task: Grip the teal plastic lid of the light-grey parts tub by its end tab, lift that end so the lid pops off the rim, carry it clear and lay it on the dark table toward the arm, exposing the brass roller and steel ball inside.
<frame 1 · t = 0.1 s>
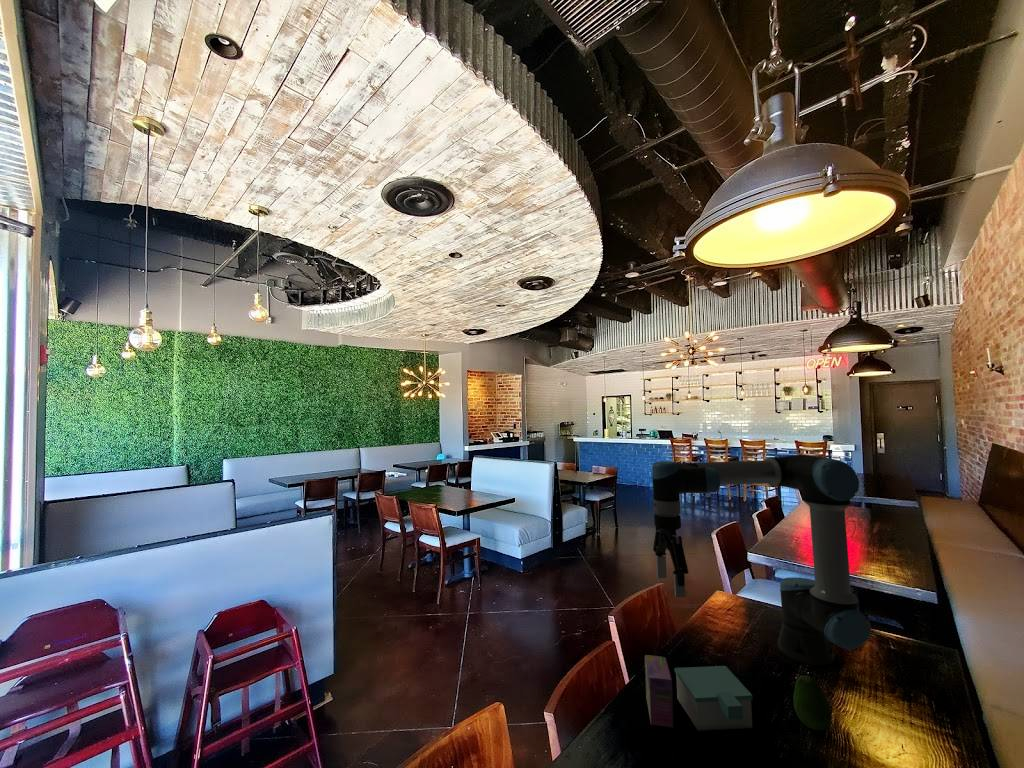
hand: (670, 586, 125), 28 cm above the table, fingers open, 13 cm apart
tub: (713, 712, 112), on the table
lid: (711, 684, 112), point 7 cm above the table, touching tub
avocado: (813, 728, 105), on the table
box: (659, 713, 112), on the table
brass roller: (720, 706, 114), resting on tub
steel ball: (705, 718, 109), resting on tub
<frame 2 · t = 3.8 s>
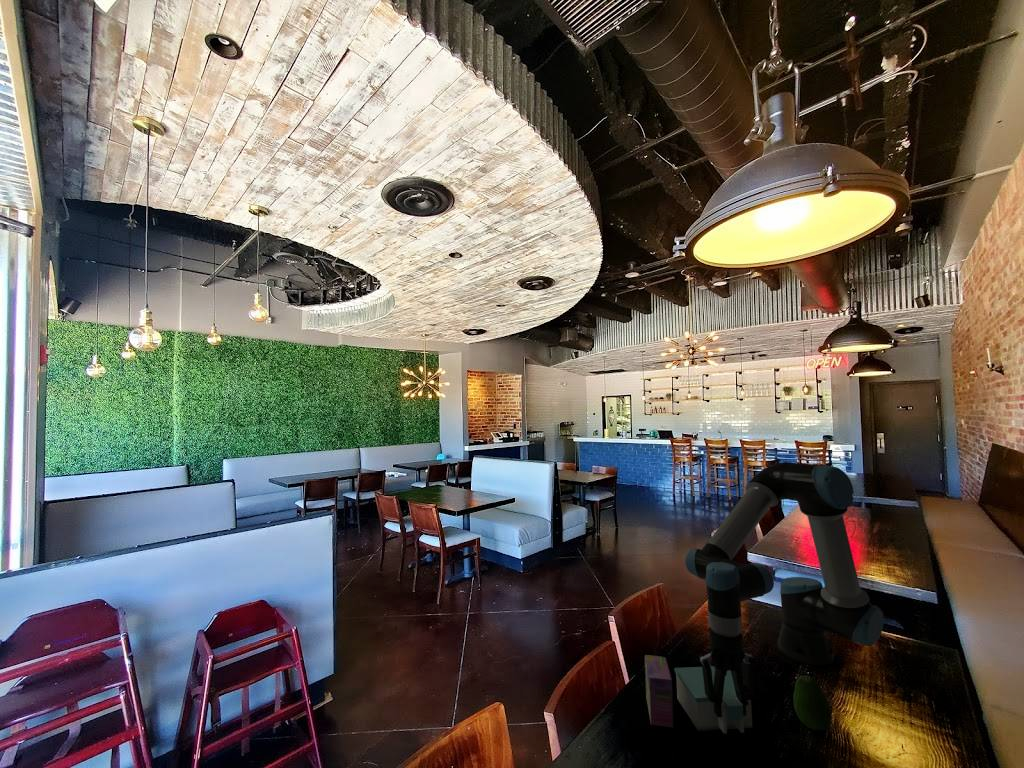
hand: (731, 728, 103), 2 cm above the table, fingers closed on lid, 3 cm apart
lid: (711, 684, 112), point 7 cm above the table, touching gripper, tub
brass roller: (720, 704, 113), point 1 cm above the table, tilted 51°, touching tub
everything else where it was.
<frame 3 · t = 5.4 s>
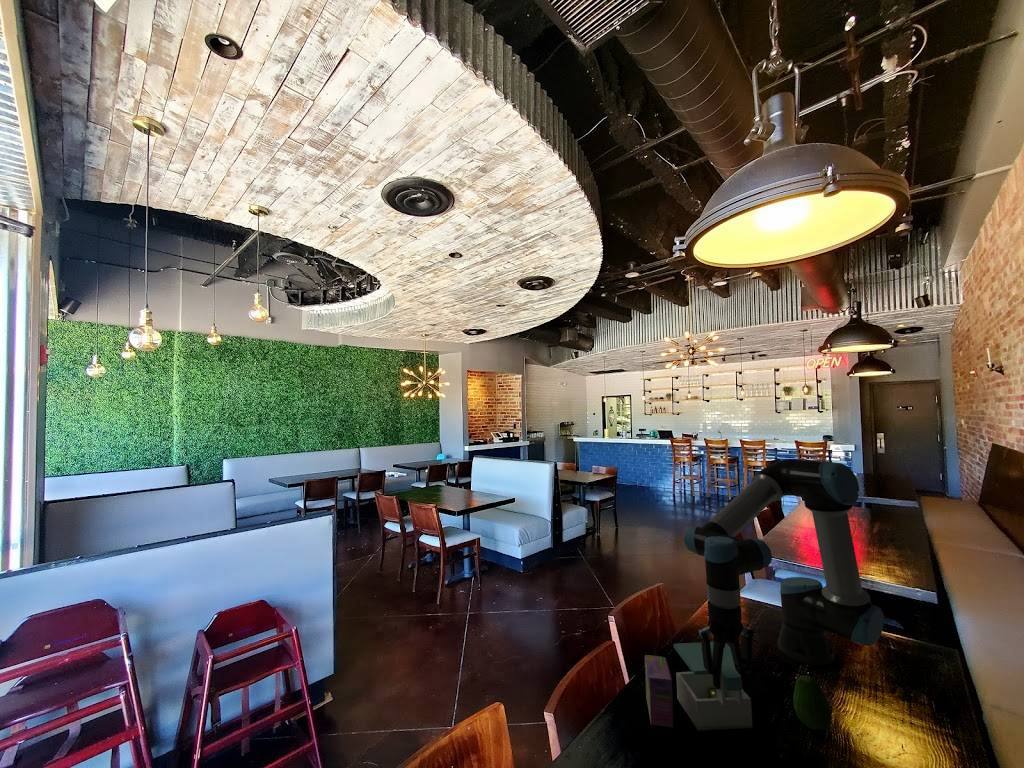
hand: (729, 700, 103), 9 cm above the table, fingers closed on lid, 3 cm apart
lid: (710, 659, 113), point 14 cm above the table, touching gripper
brass roller: (720, 706, 113), resting on tub, tilted 27°
everything else where it was.
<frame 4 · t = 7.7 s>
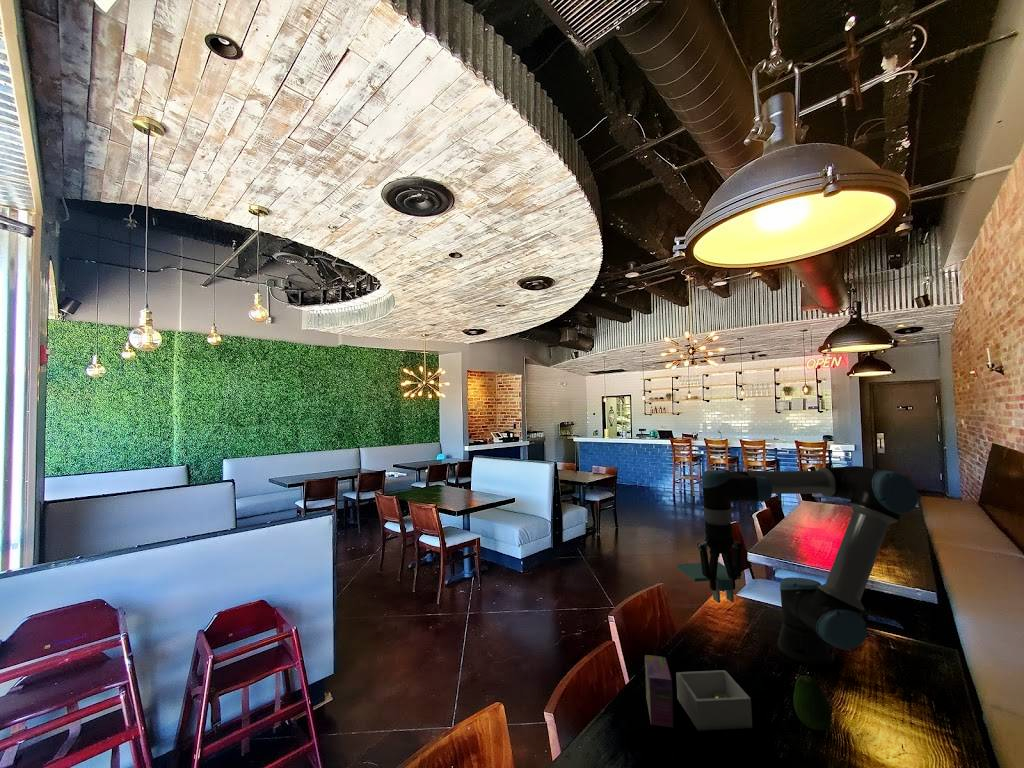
hand: (723, 600, 128), 22 cm above the table, fingers closed on lid, 3 cm apart
lid: (707, 572, 137), point 27 cm above the table, touching gripper
brass roller: (719, 702, 114), point 1 cm above the table, tilted 48°, touching tub
everything else where it was.
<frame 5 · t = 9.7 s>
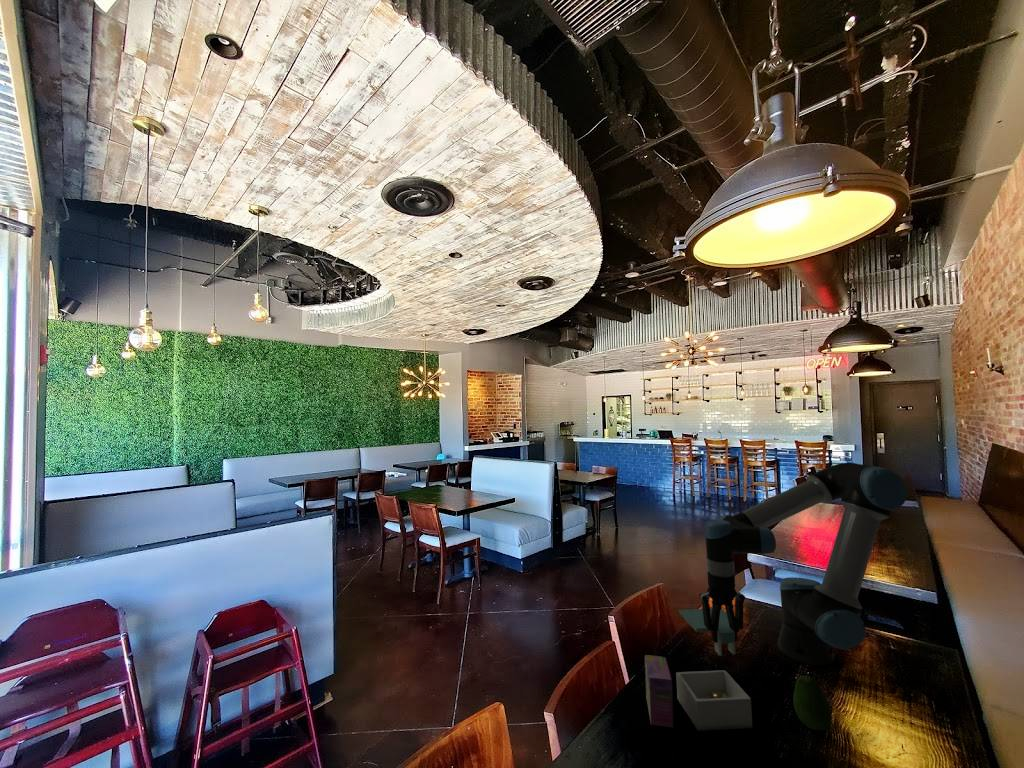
hand: (725, 652, 127), 7 cm above the table, fingers closed on lid, 3 cm apart
lid: (709, 621, 137), point 12 cm above the table, touching gripper
brass roller: (719, 706, 114), resting on tub, tilted 12°
everything else where it was.
when the fingers open (2 cm above the table, at t = 11.4 s): lid drops 6 cm, point 1 cm above the table.
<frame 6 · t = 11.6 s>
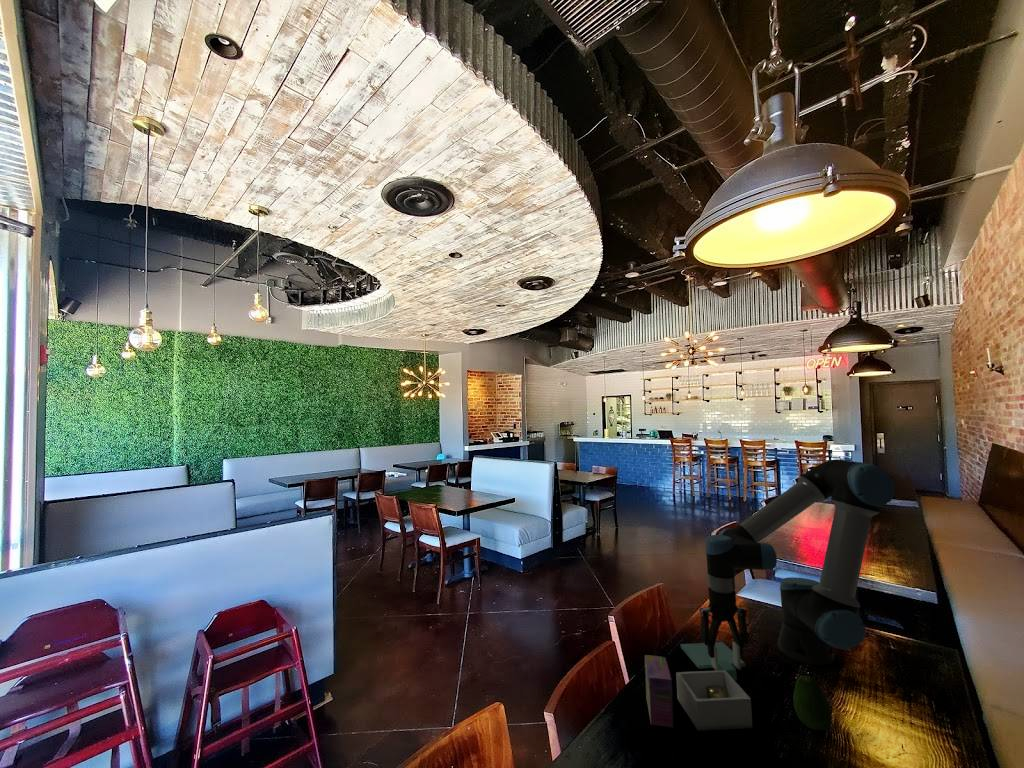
hand: (726, 667, 127), 2 cm above the table, fingers open, 6 cm apart
lid: (711, 656, 136), point 1 cm above the table
brass roller: (720, 703, 113), point 1 cm above the table, tilted 61°, touching tub
everything else where it was.
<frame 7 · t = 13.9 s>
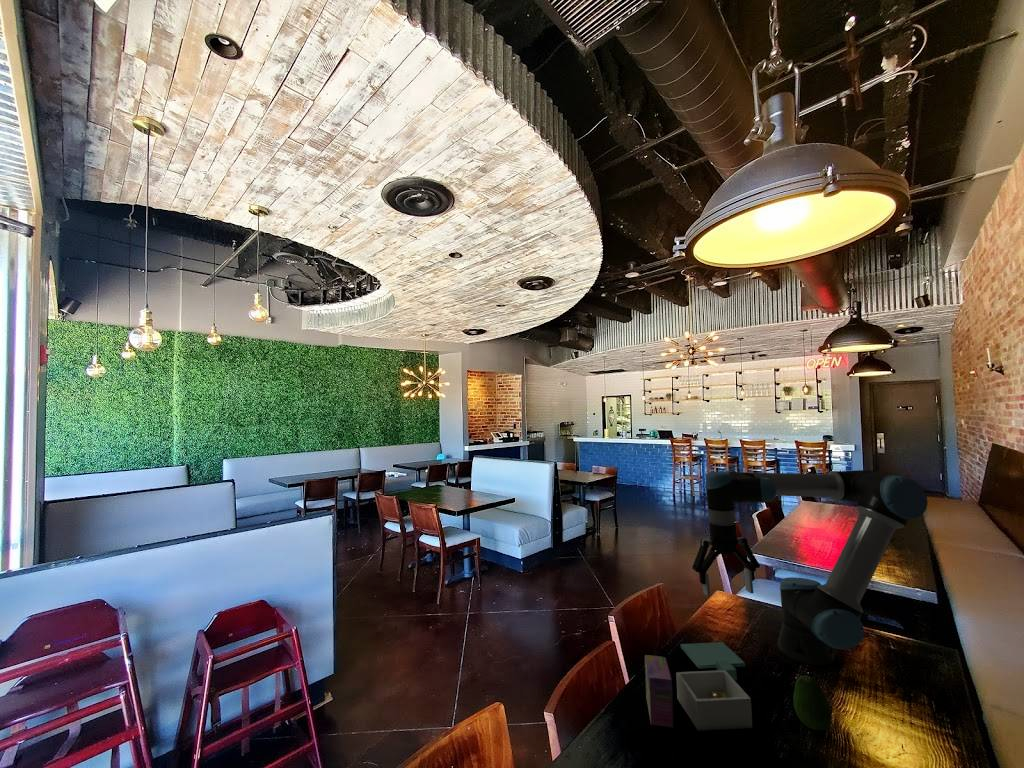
hand: (728, 593, 129), 24 cm above the table, fingers open, 13 cm apart
brass roller: (720, 706, 114), resting on tub
everything else where it was.
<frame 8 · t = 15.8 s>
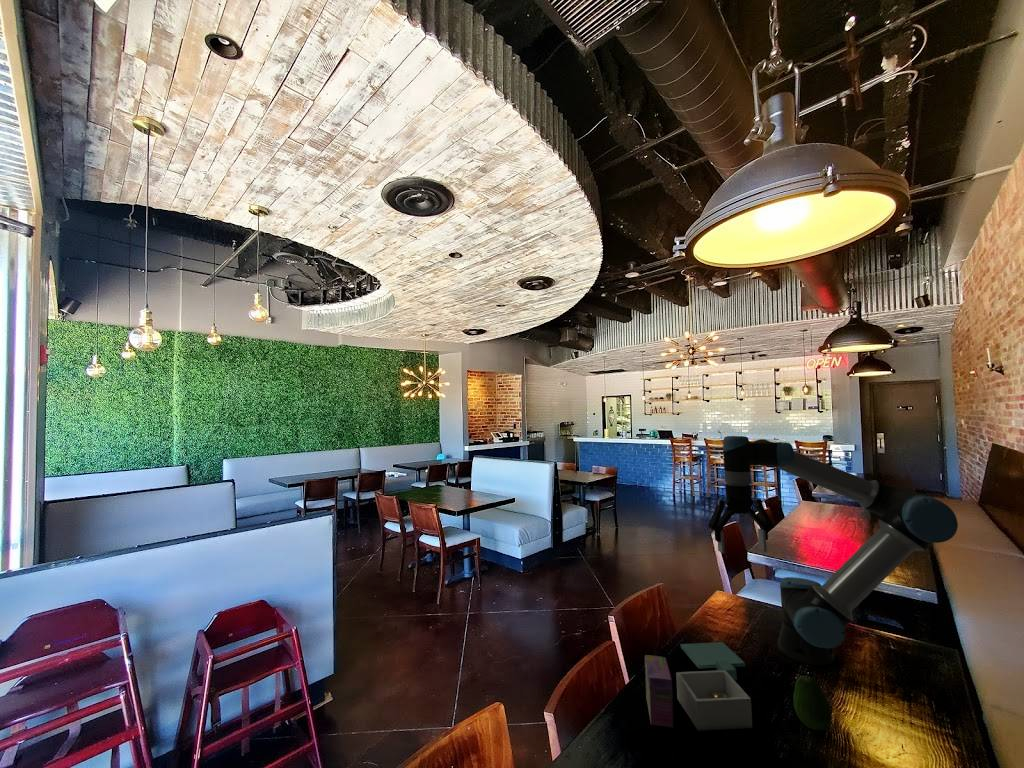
hand: (742, 551, 135), 35 cm above the table, fingers open, 13 cm apart
brass roller: (719, 704, 114), resting on tub, tilted 28°
everything else where it was.
at the end: lid point 0.8 cm above the table; lid moved 27.3 cm from its start; the gripper is holding nothing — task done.
